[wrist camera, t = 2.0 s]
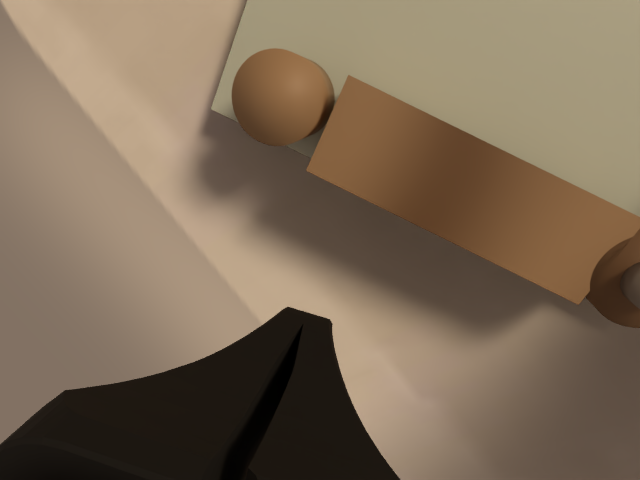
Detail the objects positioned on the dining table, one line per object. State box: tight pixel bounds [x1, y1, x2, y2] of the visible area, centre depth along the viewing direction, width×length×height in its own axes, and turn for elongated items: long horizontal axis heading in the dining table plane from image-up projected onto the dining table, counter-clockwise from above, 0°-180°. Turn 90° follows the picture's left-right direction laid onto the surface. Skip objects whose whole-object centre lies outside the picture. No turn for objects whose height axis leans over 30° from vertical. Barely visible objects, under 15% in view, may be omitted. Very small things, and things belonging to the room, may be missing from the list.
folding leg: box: [306, 75, 640, 328], centre depth 12 cm, size 10×3×3 cm, turn 65°
